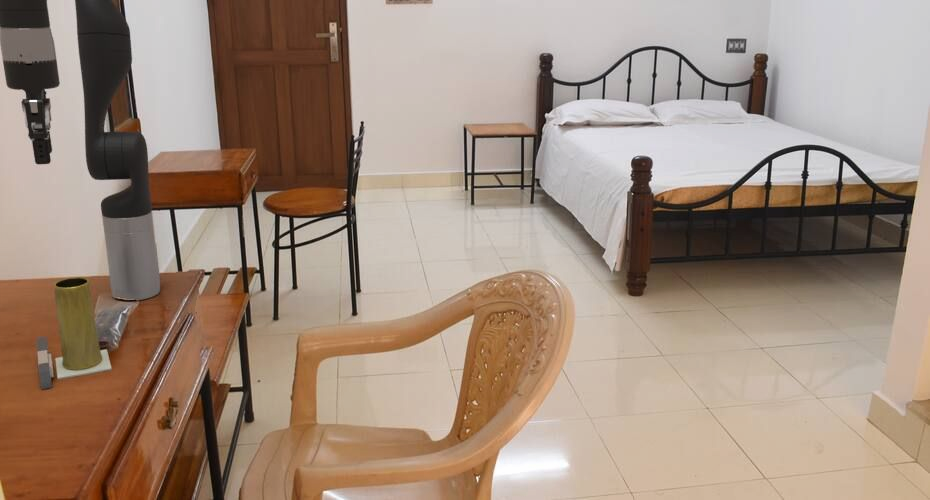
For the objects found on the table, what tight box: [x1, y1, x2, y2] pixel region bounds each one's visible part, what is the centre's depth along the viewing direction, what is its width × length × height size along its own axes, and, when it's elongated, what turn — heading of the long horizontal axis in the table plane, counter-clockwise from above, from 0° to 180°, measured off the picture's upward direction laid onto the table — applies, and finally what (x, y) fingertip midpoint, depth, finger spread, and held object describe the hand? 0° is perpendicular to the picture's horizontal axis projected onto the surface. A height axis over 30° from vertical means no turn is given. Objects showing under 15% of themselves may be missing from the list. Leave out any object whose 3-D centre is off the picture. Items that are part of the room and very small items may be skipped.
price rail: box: [35, 336, 55, 390], centre depth 131 cm, size 14×2×3 cm, turn 28°
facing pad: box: [55, 348, 113, 380], centre depth 133 cm, size 8×8×1 cm
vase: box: [53, 276, 102, 370], centre depth 131 cm, size 6×6×14 cm
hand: (44, 158), depth 131 cm, fingers open, 8 cm apart
